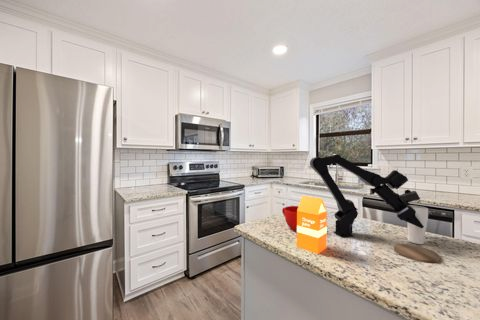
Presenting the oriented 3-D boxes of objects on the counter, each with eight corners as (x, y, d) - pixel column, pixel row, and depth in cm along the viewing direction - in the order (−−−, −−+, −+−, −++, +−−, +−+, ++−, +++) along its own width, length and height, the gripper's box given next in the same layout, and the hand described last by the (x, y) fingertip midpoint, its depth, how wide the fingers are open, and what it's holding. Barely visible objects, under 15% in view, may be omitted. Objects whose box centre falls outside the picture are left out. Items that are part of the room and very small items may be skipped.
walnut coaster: (420, 264, 69) (420, 261, 69) (385, 247, 81) (385, 245, 81) (450, 260, 71) (450, 257, 71) (411, 244, 84) (411, 242, 84)
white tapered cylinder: (430, 246, 83) (432, 209, 83) (411, 244, 84) (413, 207, 84) (419, 240, 89) (421, 205, 89) (401, 238, 90) (403, 204, 90)
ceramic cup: (291, 221, 114) (291, 203, 114) (316, 230, 100) (317, 210, 100) (273, 225, 108) (273, 206, 108) (298, 235, 93) (298, 214, 93)
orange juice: (305, 241, 87) (306, 194, 87) (326, 247, 81) (327, 197, 81) (296, 246, 82) (296, 196, 82) (317, 254, 76) (318, 200, 75)
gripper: (408, 186, 80) (447, 219, 75) (402, 182, 96) (433, 208, 90) (383, 204, 85) (418, 236, 79) (381, 197, 101) (410, 223, 95)
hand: (421, 225), depth 86 cm, fingers closed on white tapered cylinder, 7 cm apart
